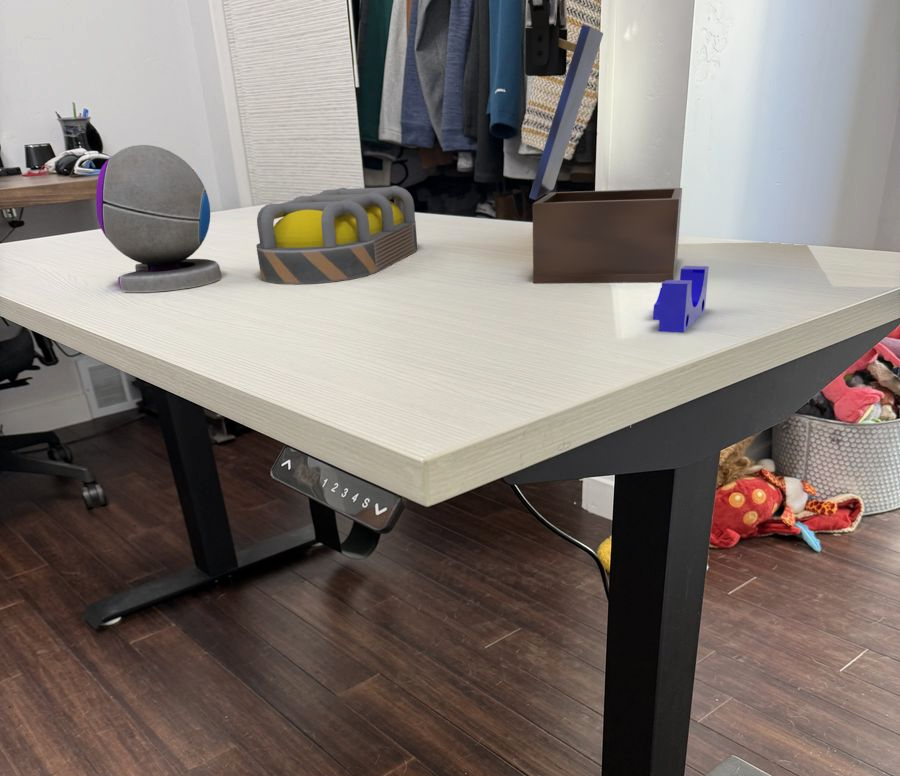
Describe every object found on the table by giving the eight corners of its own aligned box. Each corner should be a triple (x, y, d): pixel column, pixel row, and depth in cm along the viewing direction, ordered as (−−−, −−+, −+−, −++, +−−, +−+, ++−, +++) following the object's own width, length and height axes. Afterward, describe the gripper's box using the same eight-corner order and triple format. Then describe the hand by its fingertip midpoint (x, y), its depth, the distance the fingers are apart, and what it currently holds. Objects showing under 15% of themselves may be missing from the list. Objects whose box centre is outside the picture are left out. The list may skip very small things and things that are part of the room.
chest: (676, 263, 98) (682, 187, 94) (673, 281, 89) (679, 198, 85) (549, 264, 102) (550, 192, 98) (533, 283, 92) (532, 203, 88)
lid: (603, 33, 89) (550, 15, 90) (590, 26, 79) (531, 5, 80) (553, 189, 98) (505, 172, 98) (536, 200, 88) (482, 181, 88)
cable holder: (664, 313, 76) (667, 265, 74) (704, 315, 75) (708, 266, 73) (640, 334, 70) (643, 282, 68) (683, 336, 69) (687, 284, 67)
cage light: (426, 182, 119) (346, 206, 94) (430, 244, 123) (354, 283, 98) (328, 186, 122) (226, 210, 98) (335, 246, 126) (239, 284, 102)
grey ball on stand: (127, 277, 111) (97, 146, 103) (227, 270, 112) (205, 139, 104) (104, 296, 100) (68, 150, 92) (216, 287, 101) (189, 142, 93)
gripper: (579, -188, 70) (571, 73, 79) (601, -142, 84) (592, 74, 94) (489, -177, 72) (492, 76, 81) (525, -134, 86) (524, 78, 95)
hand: (546, 73), depth 87 cm, fingers closed on lid, 5 cm apart
